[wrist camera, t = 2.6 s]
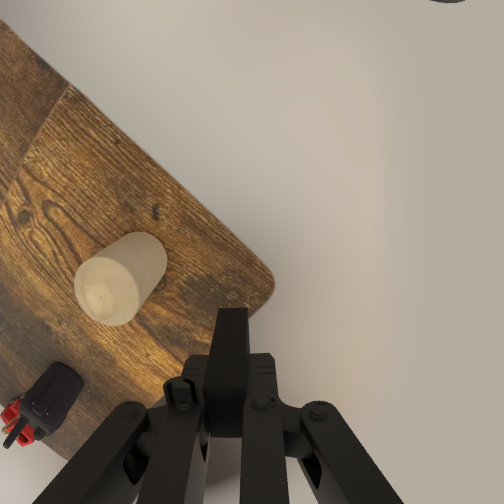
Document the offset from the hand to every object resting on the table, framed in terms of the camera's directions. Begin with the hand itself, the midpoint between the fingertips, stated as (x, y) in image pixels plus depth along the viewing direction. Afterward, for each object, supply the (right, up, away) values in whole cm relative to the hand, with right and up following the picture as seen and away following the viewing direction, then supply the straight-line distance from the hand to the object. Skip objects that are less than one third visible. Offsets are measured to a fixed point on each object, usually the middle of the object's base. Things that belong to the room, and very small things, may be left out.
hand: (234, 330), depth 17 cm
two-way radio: (-23, -11, +18) cm, 31 cm away
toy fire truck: (-33, -19, +20) cm, 43 cm away
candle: (-10, +4, +13) cm, 17 cm away
